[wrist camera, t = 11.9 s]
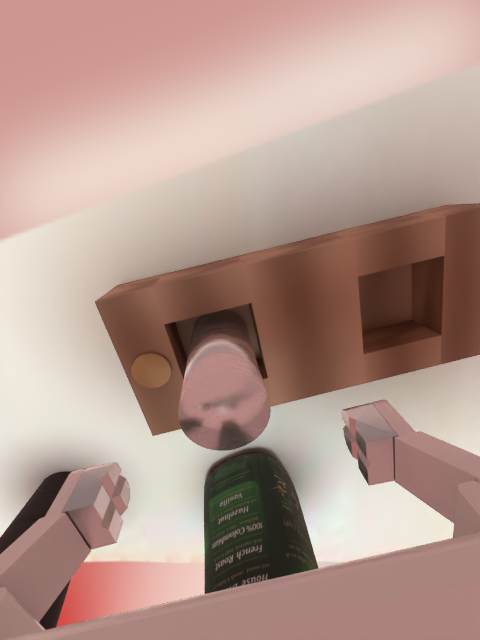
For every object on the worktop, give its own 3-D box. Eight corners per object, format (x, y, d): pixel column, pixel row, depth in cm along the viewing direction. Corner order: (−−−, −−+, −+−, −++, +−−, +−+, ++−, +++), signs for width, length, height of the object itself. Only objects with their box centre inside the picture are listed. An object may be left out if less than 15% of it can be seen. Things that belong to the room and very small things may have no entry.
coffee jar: (190, 470, 26) (149, 966, 9) (267, 436, 26) (383, 894, 8) (236, 530, 30) (270, 974, 12) (305, 501, 29) (443, 923, 12)
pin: (240, 302, 20) (260, 363, 12) (251, 351, 21) (277, 438, 13) (185, 316, 20) (165, 386, 12) (200, 364, 21) (192, 459, 13)
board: (447, 205, 20) (506, 202, 16) (442, 331, 24) (489, 354, 20) (117, 285, 20) (92, 303, 16) (162, 400, 23) (152, 439, 19)
